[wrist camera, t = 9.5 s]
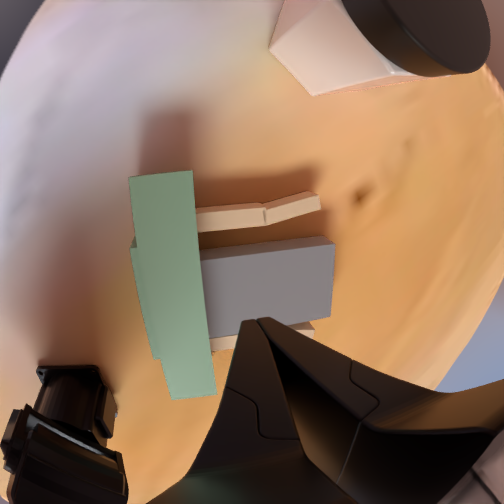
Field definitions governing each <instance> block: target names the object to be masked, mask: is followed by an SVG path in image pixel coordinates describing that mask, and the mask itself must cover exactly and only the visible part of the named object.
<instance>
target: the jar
mask: <svg viewBox="0 0 504 504" xmlns="http://www.w3.org/2000/svg"><path fill="white" fill-rule="evenodd" d="M489 50H490V28H489V22H488V18H487V15H486V11H485V9H484V6H483V4H482V1H481V0H286V1H285V2H284V3H283V6H282V9H281V12H280V15H279V18H278V21H277V24H276V27H275V31H274V34H273V37H272V40H271V43H270V46H269V51H270V52H271V53H272V54H273V55H274V56H275V57H276V58H277V59H278V60H279V61H280V62H281V63H282V65H283V66H284V67H285V68H286V69H287V70H288V71H289V72H290V73H291V74H292V75H293V76H294V77H295V78H296V79H297V80H298V82H299V83H300V84H301V85H302V86H303V87H304V88H305V89H306V90H307V92H308V93H309V94H310V95H311V96H320V95H327V94H335V93H343V92H352V91H362V90H367V89H372V88H377V87H382V86H388V85H393V84H399V83H405V82H411V81H418V80H425V79H433V78H441V77H449V76H451V75H456V74H467V73H472V72H475V71H477V70H478V69H480V68H481V67H482V66H483V65H484V63H485V61H486V60H487V57H488V55H489Z"/></svg>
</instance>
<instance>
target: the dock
mask: <svg viewBox="0 0 504 504" xmlns="http://www.w3.org/2000/svg"><path fill="white" fill-rule="evenodd" d="M129 188H130V197H131V206H132V214H133V222H134V229H135V237H134V240H133V242H132V244H131V246H130V254H131V260H132V266H133V271H134V276H135V282H136V287H137V292H138V296H139V301H140V306H141V310H142V315H143V319H144V323H145V328H146V332H147V336H148V340H149V344H150V348H151V351H152V355H153V359H154V360H155V359H160V360H161V364H162V367H163V371H164V375H165V378H166V382H167V386H168V389H169V393H170V396H171V399H172V400H177V399H186V398H195V397H203V396H210V395H217V389H216V383H215V376H214V369H213V363H212V356H211V352H212V351H219V350H226V349H233V348H235V344H236V340H237V336H238V334H235V335H228V336H222V337H215V338H209V334H208V326H207V318H206V310H205V302H204V293H203V284H202V275H201V265H200V255H199V245H198V234H197V233H198V232H208V231H217V230H227V229H237V228H247V227H258V226H267V225H270V224H273V223H277V222H280V221H283V220H286V219H290V218H293V217H296V216H300V215H303V214H306V213H310V212H313V211H316V210H320V209H321V206H320V200H319V195H317V194H315V193H312V192H310V191H306V192H302V193H299V194H295V195H291V196H288V197H284V198H281V199H277V200H274V201H270V202H267V203H264V204H260V203H259V202H258V203H245V204H233V205H222V206H211V207H200V208H195V198H194V184H193V171H192V170H184V171H174V172H165V173H156V174H147V175H139V176H132V177H129ZM287 326H288V327H290V328H292V329H294V330H296V331H298V332H300V333H302V334H304V335H305V336H307V337H309V338H311V339H312V338H313V335H314V331H315V329H314V328H313V327H312V325H311V324H310V322H309V321H307V322H302V323H297V324H292V325H287Z"/></svg>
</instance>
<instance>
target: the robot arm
mask: <svg viewBox="0 0 504 504" xmlns="http://www.w3.org/2000/svg"><path fill="white" fill-rule="evenodd" d="M92 370H93V371H95V372H93V371H92ZM36 373H37V375H38V377H39V379H40V381H41V383H42V387H41V389H40V392H39V394H38V397H37V400H36V402H35V405H34V408H33V409H32V407H31V406H29V405H28V404H26V405H25V407H24V409H23V410H22V409H20V410H16V409H13V412H12V414H11V417H10V419H9V422H8V424H7V427H6V430H5V432H4V435H3V438H2V441H1V444H0V447H1V449H2V452H3V454H4V457H3V460H5V462H4V467H3V469H5V470H6V471H8V472H10V473H11V475H10V479H9V483H8V487H7V491H6V494H7V498H8V501H9V504H127V501H128V494H129V489H128V483H127V478H126V474H125V469H124V464H123V459H122V454H121V453H120V452H117V451H113V450H110V449H108V448H106V446H107V439H111V438H112V437H113V430H114V421H115V418H116V417H117V414H118V412H117V410H116V403H115V401H114V399H113V396H112V394H111V392H110V390H109V387H108V386H107V385H105V383H104V380H103V378H102V376H101V373H100V371H99V369H98V367H96V366H94V365H87V366H39V367H38V368H37V370H36ZM146 504H504V379H502V380H499V381H496V382H493V383H489V384H486V385H483V386H479V387H476V388H472V389H468V390H464V391H460V392H455V393H443V392H437V391H433V390H430V389H427V388H424V387H421V386H418V385H415V384H412V383H409V382H406V381H403V380H400V379H398V378H395V377H392V376H389V375H387V374H384V373H382V372H379V371H377V370H375V369H372V368H370V367H368V366H366V365H363V364H361V363H359V362H357V361H355V360H352V359H351V358H349V357H347V356H345V355H343V354H341V353H339V352H337V351H335V350H333V349H331V348H329V347H327V346H325V345H323V344H321V343H319V342H317V341H315V340H313V339H311V338H309V337H307V336H305V335H304V334H302V333H300V332H298V331H296V330H294V329H292V328H290V327H288V326H286V325H284V324H283V323H281V322H279V321H277V320H275V319H273V318H271V317H262V318H257V319H256V320H255V319H249V320H243V321H242V322H241V324H240V328H239V332H238V336H237V340H236V344H235V348H234V352H233V356H232V360H231V364H230V368H229V372H228V376H227V380H226V384H225V388H224V391H223V395H222V399H221V402H220V405H219V408H218V411H217V414H216V416H215V418H214V421H213V423H212V426H211V428H210V430H209V432H208V434H207V436H206V438H205V440H204V442H203V444H202V446H201V448H200V450H199V452H198V454H197V456H196V458H195V460H194V462H193V464H192V466H191V467H190V469H189V471H188V472H187V473H186V475H185V476H184V477H183V478H182V479H181V480H180V481H178V482H177V483H175V484H174V485H173V486H171V487H170V488H168V489H167V490H165V491H164V492H163V493H161V494H160V495H158V496H157V497H155V498H154V499H152V500H151V501H149V502H148V503H146Z"/></svg>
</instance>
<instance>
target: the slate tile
mask: <svg viewBox="0 0 504 504" xmlns="http://www.w3.org/2000/svg"><path fill="white" fill-rule="evenodd" d="M199 255H200V265H201V275H202V284H203V293H204V302H205V310H206V318H207V326H208V334H209V338H215V337H222V336H228V335H235V334H238V332H239V328H240V324H241V322H242V321H243V320H249V319H255V320H256V319H257V318H262V317H271V318H273V319H275V320H277V321H279V322H281V323H283V324H284V325H286V326H287V325H292V324H297V323H302V322H307V321H312V320H317V319H321V318H326V317H330V315H331V303H332V291H333V276H334V260H335V243H333V242H332V241H330V240H329V239H327V238H326V237H324V236H323V235H322V236H314V237H305V238H296V239H288V240H279V241H271V242H262V243H254V244H245V245H237V246H229V247H221V248H212V249H204V250H199Z"/></svg>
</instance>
